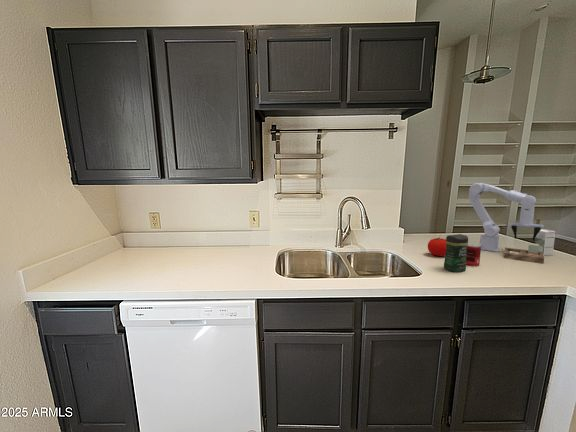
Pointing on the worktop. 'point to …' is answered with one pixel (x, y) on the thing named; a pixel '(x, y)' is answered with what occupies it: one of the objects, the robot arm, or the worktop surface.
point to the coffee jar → (456, 253)
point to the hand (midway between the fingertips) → (524, 239)
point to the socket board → (523, 255)
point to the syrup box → (545, 241)
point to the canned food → (473, 254)
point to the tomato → (437, 246)
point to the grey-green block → (533, 248)
